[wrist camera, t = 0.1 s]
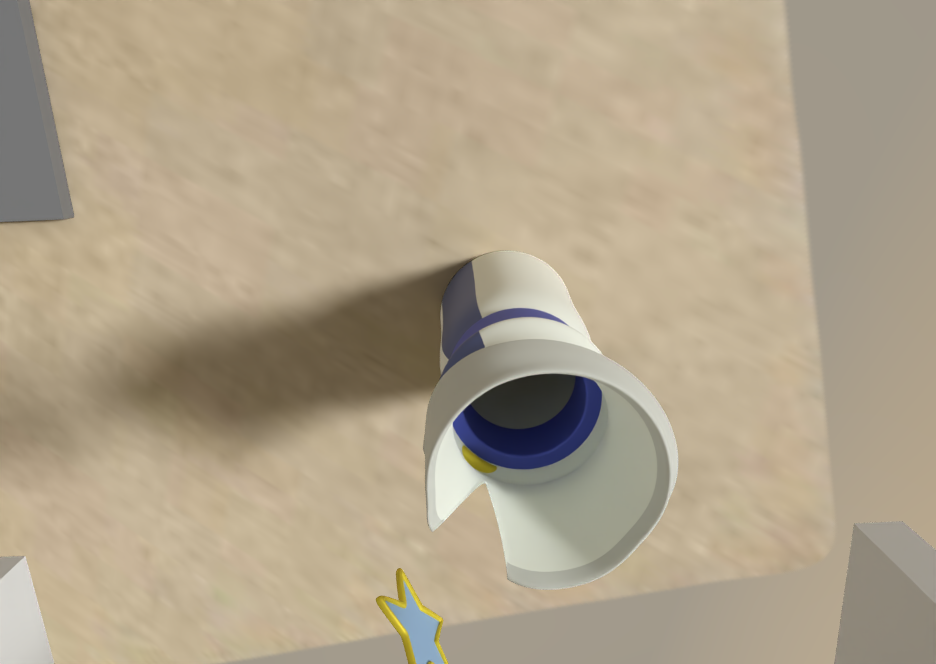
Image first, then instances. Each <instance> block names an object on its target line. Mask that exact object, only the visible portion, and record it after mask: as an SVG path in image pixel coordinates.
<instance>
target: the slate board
mask: <svg viewBox="0 0 936 664" xmlns="http://www.w3.org/2000/svg"><path fill="white" fill-rule="evenodd" d="M73 217H74V213H73V208H72V203H71V199H70V194H69V189H68V184H67V179H66V175H65V170H64V165H63V160H62V155H61V151H60V146H59V141H58V136H57V132H56V127H55V122H54V117H53V112H52V108H51V103H50V98H49V93H48V89H47V84H46V79H45V74H44V69H43V65H42V60H41V55H40V50H39V45H38V41H37V36H36V31H35V26H34V22H33V17H32V12H31V7H30V2H29V0H0V222H11V221H34V220H57V219H68V218H73Z"/></svg>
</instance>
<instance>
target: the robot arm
mask: <svg viewBox="0 0 936 664" xmlns="http://www.w3.org/2000/svg"><path fill="white" fill-rule="evenodd" d="M0 664H54V660H53V657H52V653H51V649H50V646H49V642H48V638H47V634H46V631H45V627H44V623H43V620H42V616H41V612H40V608H39V605H38V601H37V597H36V594H35V590H34V586H33V583H32V579H31V575H30V571H29V568H28V564H27V560H26V557H25V556H11V557H0ZM834 664H936V550H935V549H934V548H933V547H932V546H931V545H929V544H928V543H927V542H926V541H925V540H924V539H922V538H921V537H920V536H919V535H918V534H917V533H916V532H914V531H913V530H912V529H911V528H910V527H909V526H908V525H906V524H905V523H904V522H879V523H854V527H853V534H852V541H851V549H850V556H849V563H848V570H847V577H846V584H845V591H844V598H843V606H842V613H841V620H840V628H839V635H838V641H837V648H836V656H835V663H834Z"/></svg>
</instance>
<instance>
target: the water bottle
mask: <svg viewBox="0 0 936 664" xmlns="http://www.w3.org/2000/svg"><path fill="white" fill-rule="evenodd" d="M440 320H441V346H440V370H441V377H440V380H439V382H438V383H437V385H436V387H435V388H434V390H433V393H432V395H431V398H430V401H429V404H428V409H427V415H426V425H425V435H424V443H423V451H424V454H425V491H426V505H427V522H428V525H429V528H430V530H431V531H432V532H433V531H434V530H435V529H437V528H438V527H439V526H440V525H441V524H442V523H443V522H444V521H445V520H446V519H447V518H448V517H449V516H450V515H451V514H452V512H453V511H454V510H455V509H456V508H457V507H458V506H459V505H460V504H461V503H462V502H463V501H464V500H465V499H466V498H467V497H468V496H469V495H470V494H471V493H472V492H473V491H474V490H475V489H476V488H477V487H479V486H480V485H481V484H483V483H486V486H487V488H488V491H489V495H490V498H491V501H492V504H493V508H494V511H495V515H496V518H497V522H498V526H499V530H500V535H501V539H502V544H503V550H504V555H505V561H506V568H507V579H508V580H509V581H511V582H513V583H515V584H518V585H521V586H524V587H527V588H532V589H540V590H555V589H564V588H571V587H576V586H580V585H583V584H586V583H589V582H592V581H594V580H597V579H599V578H601V577H603V576H604V575H606V574H608V573H609V572H611V571H612V570H614V569H615V568H616V567H618V566H619V565H620V564H621V563H623V562H624V561H625V560H626V559H627V558H628V557H629V556H630V555H631V554H632V553H633V552H634V551H635V550H636V549H637V547H638V546H639V545H640V544H641V543H642V542H643V541H644V540H645V539H646V537H647V536H648V535H649V534H650V533H651V531H652V530H653V529H654V527H655V526H656V525H657V523H658V522H659V520H660V518H661V517H662V515H663V513H664V511H665V509H666V506H667V504H668V501H669V498H670V496H671V494H672V491H673V489H674V486H675V483H676V479H677V473H678V451H677V445H676V440H675V436H674V433H673V430H672V427H671V425H670V422H669V420H668V418H667V416H666V414H665V412H664V410H663V409H662V407H661V406H660V404H659V403H658V401H657V400H656V398H655V397H654V396H653V394H652V393H651V392H650V391H649V390H648V389H647V388H646V386H645V385H644V384H643V383H642V382H641V381H640V380H639V379H637V378H636V377H635V376H634V375H633V374H632V373H630V372H629V371H628V370H626V369H625V368H624V367H622V366H621V365H619V364H618V363H616V362H614V361H613V360H611V359H609V358H607V357H606V356H604V355H602V353H601V352H600V350H599V349H598V348H597V347H596V346H595V345H594V344H593V343H592V342H591V339H590V336H589V333H588V331H587V328H586V326H585V324H584V322H583V321H582V319H581V317H580V315H579V314H578V312H577V310H576V309H575V307H574V305H573V303H572V300H571V298H570V295H569V292H568V290H567V288H566V286H565V284H564V282H563V280H562V279H561V277H560V276H559V275H558V274H557V272H556V271H555V270H554V269H553V268H552V267H551V266H549V265H548V264H547V263H545V262H544V261H542V260H541V259H539V258H537V257H535V256H533V255H530V254H527V253H523V252H518V251H496V252H491V253H488V254H485V255H482V256H480V257H477V258H475V259H474V260H472V261H470V262H469V263H467V264H466V265H465V266H464V267H462V268H461V269H460V270H459V271H458V272H457V273H456V275H455V276H454V277H453V278H452V280H451V281H450V283H449V285H448V286H447V288H446V291H445V293H444V296H443V299H442V304H441V311H440ZM396 581H397V591H398V598H399V600H396V599H393V598H390V597H386V596H379V597H377V598H376V602H377V604H378V606H379V607H380V609H381V610H382V612H383V613H384V614H385V616H386V617H387V618H388V620H389V621H390V622H391V624H392V625H393V626H394V628H395V629H396V630H397V632H398V633H399V634H400V636H401V638H402V641H403V645H404V648H405V652H406V656H407V660H408V664H448V661H447V659H446V657H445V655H444V653H443V650H442V648H441V646H440V644H439V637H440V632H441V628H442V624H443V619H442V618H441V617H440V616H438V615H437V614H435V613H434V612H432V611H431V610H429V609H428V608H426V607H425V606H423V605H422V603H421V602H420V600H419V598H418V596H417V594H416V593H415V591H414V589H413V587H412V585H411V584H410V582H409V580H408V578H407V577H406V575H405V573H404V572H403V570H402V569H401V568H398V569H397V571H396Z"/></svg>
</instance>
